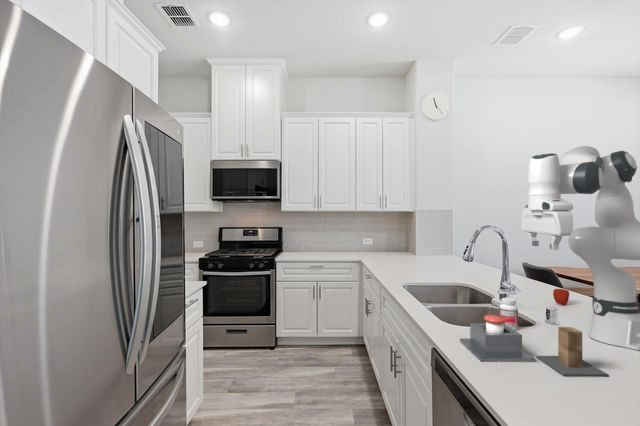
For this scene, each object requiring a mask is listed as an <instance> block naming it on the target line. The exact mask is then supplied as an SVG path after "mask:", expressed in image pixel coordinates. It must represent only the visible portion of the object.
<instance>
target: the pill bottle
mask: <svg viewBox="0 0 640 426" xmlns="http://www.w3.org/2000/svg"><path fill="white" fill-rule="evenodd" d="M498 309H499V316H502V317H504V318H505V323H504V324H505V325H506V326H508V327H510V328H511V329H513V330H515V331H517V330H518V329H519V319H518V318H519V309H518V306H517V303H516V299H515V298H512V297H503V298H501V304H499V308H498Z"/></svg>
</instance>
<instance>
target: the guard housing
mask: <svg viewBox="0 0 640 426" xmlns="http://www.w3.org/2000/svg"><path fill="white" fill-rule="evenodd" d="M459 343H460V344H462V345H463V347H464V348H466V349H467V350H468V351H469V352H470V353H471V354H472V355H473V356H474V357H475V358H476V359H477V360H478V361H479V362H482V363H483V362H487V363H491V362H492V363H498V362H499V363H503V362H504V363H506V362H507V363H511V362H512V363H517V362H518V363H523V362H524V363H535V362H536V357H534V356H533V355H531V354H530V353H528V352H527V351H526V350H524V349H523V334H521V333H520V332H517V330H513V329H511V328H510V327H508V326H506V325H505V324H504V333H489V332H487V331H486V322H485V323H484V322H483V323H482V322H481V323H476V322H475V323H472V322H471V323H469V338H459Z"/></svg>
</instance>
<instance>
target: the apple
mask: <svg viewBox="0 0 640 426" xmlns="http://www.w3.org/2000/svg"><path fill="white" fill-rule="evenodd" d="M552 294H553V299H554V301H555V303H556V304H557V305H562V306H566V305H567V304H568V302H569V298H570V292H569V290H567V289H564V288H555V289H554V290H553V291H552Z"/></svg>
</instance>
